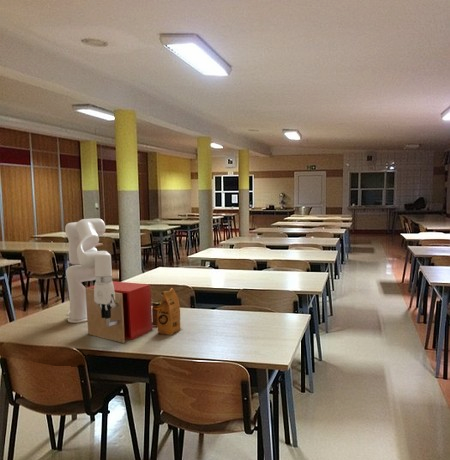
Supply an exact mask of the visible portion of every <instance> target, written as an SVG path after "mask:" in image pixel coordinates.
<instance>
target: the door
mask: <svg viewBox="0 0 450 460" xmlns="http://www.w3.org/2000/svg"><path fill="white" fill-rule="evenodd" d="M85 290H86V307H87V321H86V322H87V334H88V335H90V336H94V337H98V338H102V339H107V340H109V341H114V342H118V343H123V344H124V343H125V342H126V339H125V336H124V316H123V297H122V293H115V302H114V303H115V306H113V307H112V309H111V318H108V319H105V318H101V309H100V306H99V305H98V304H97V303H96V302H95V301H94V289H91V288H87V287H85Z"/></svg>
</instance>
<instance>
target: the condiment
mask: <svg viewBox="0 0 450 460" xmlns="http://www.w3.org/2000/svg"><path fill="white" fill-rule="evenodd" d="M161 302H162V301H153V302H152V306H151V309H152V328H153V327H158V319H157V311H158V307H159V305H160V303H161Z"/></svg>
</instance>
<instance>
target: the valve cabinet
mask: <svg viewBox="0 0 450 460" xmlns="http://www.w3.org/2000/svg"><path fill="white" fill-rule="evenodd" d="M112 282H113V285H114V291H115V293H122V297H123V316H124V336H125V340H130V341H131V340H134V339H136V338H138V337H141V336H143V335H144V334H147V333H149V332H151V331H153V327H152V322H153V320H152V291H151V290H152V289H151V284H150V283H141V282H140V283H139V282H126V281H114V280H112ZM94 286H95V284H94V285H91V286H87V287H86V288H91V289H94Z"/></svg>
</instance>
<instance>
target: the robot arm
mask: <svg viewBox="0 0 450 460" xmlns="http://www.w3.org/2000/svg"><path fill="white" fill-rule="evenodd" d="M64 227H65V228H64V231H65V235H66V237H67V240H68V261H69V263H70V264H71V266H68V267H67V268H66V269H65V277H66V281H67V288H68V296H69V297H68V299H69V311H67V313H66V314H65V316H67V317H68V318H67V322H68V323H71V324H80V323H81V324H82V323H86V322H87V307H86V290H85V288H86V286H84V284H83V282H92V281H95V282H94V285H95V286H94V285H93V286H94V301H95V302H96V303H97V304H98V305H99V306H100V309H101V318H105V319H108V318H111V309H112V307H113V306H115V303H114V302H115V291H114V285H113V282H112V281H113V270H112V269H113V268H112V254H111V253H109V252H108V251H107V250H98V249H97V247H96V246H97V245H98V244H99V242H100V237H101V236H102V235H104V234H105V232H106V230H107V229H106V223H105V221H104V220H103V219H101V218H99V217H97V218H82V219H80V220H78V221H75V222H68V223H66V225H65V226H64Z"/></svg>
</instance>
